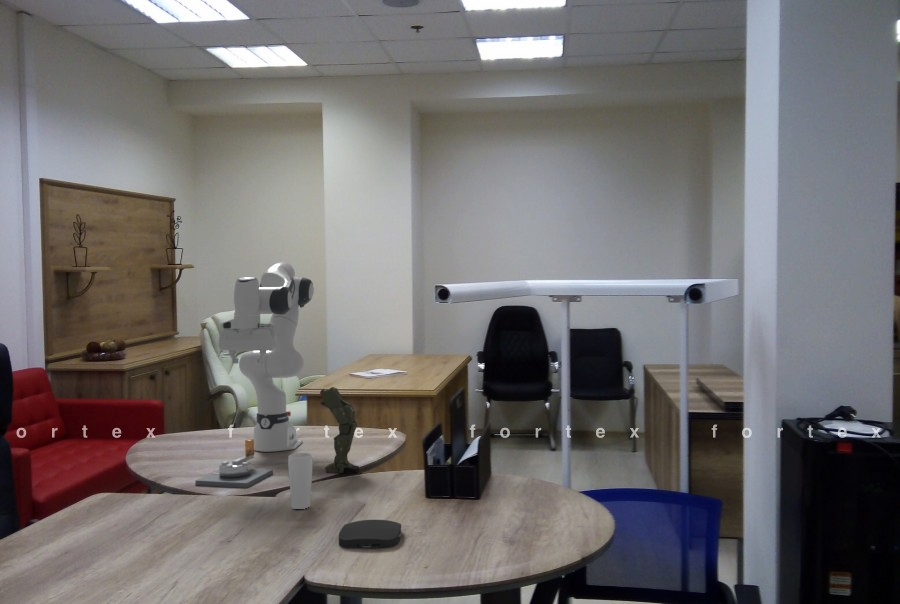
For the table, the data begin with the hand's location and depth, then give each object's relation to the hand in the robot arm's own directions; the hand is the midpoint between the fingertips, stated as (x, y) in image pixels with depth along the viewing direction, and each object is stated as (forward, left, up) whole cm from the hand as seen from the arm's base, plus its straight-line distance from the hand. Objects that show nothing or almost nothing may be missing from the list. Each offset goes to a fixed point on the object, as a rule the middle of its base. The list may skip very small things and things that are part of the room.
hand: (247, 363), depth 252 cm
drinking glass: (+39, +37, -37) cm, 66 cm away
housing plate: (+13, +2, -37) cm, 39 cm away
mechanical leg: (-4, +32, -37) cm, 49 cm away
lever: (+10, +2, -35) cm, 37 cm away
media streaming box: (+60, +65, -38) cm, 96 cm away
